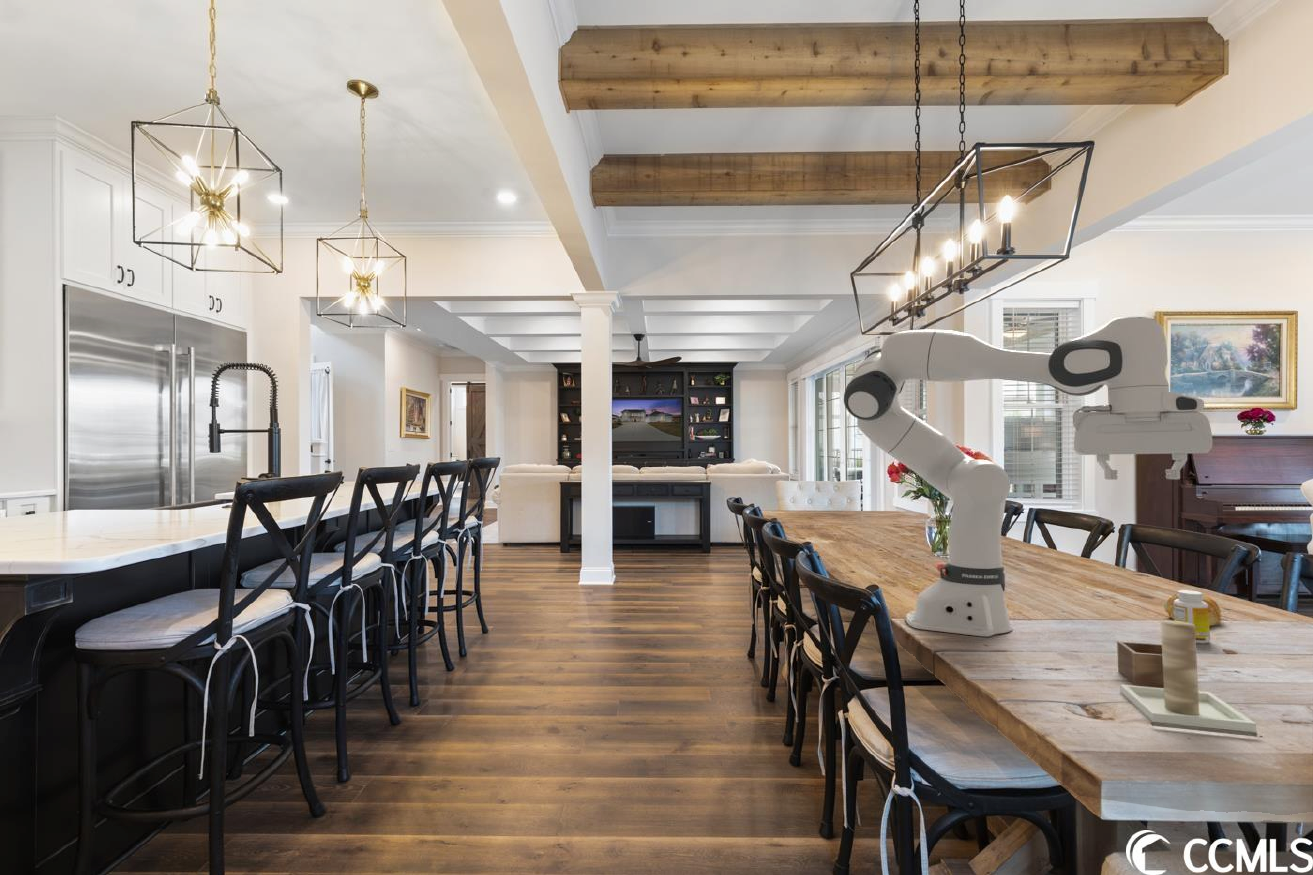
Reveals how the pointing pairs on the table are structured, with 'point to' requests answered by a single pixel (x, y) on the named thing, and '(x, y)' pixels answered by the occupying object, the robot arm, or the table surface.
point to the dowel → (1180, 667)
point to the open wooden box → (1141, 663)
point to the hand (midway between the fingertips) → (1141, 479)
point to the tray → (1209, 716)
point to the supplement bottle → (1193, 613)
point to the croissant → (1212, 605)
